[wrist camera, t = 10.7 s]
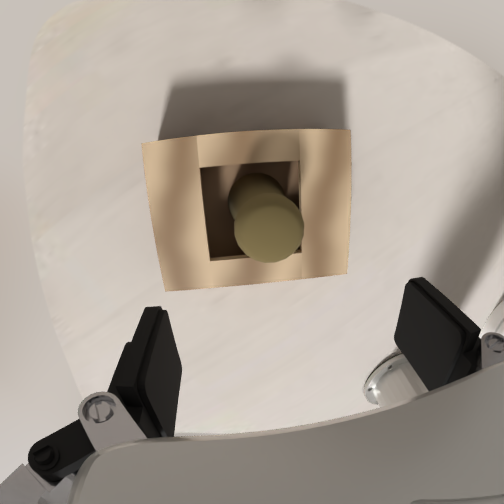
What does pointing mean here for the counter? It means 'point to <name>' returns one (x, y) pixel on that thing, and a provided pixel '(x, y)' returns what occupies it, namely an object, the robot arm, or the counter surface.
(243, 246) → the cork
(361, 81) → the counter surface
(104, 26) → the counter surface
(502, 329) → the honey pot
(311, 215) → the drop box
